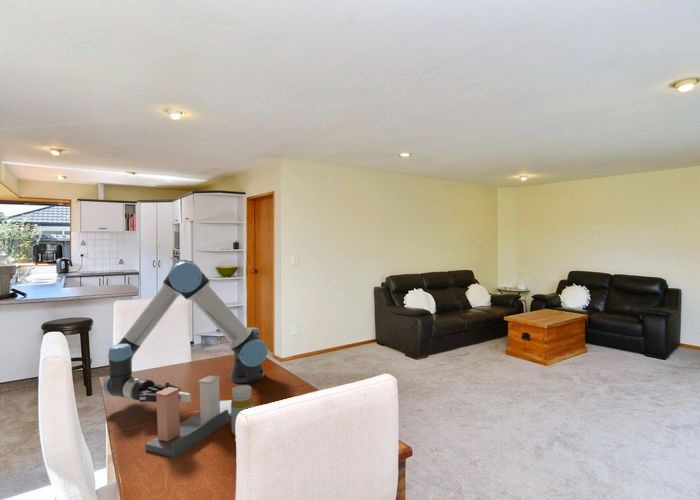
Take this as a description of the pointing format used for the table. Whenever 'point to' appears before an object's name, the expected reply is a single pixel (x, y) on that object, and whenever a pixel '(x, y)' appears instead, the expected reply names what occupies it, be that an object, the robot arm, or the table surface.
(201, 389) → the grey tall block
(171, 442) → the stand
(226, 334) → the robot arm
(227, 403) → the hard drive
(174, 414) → the terracotta key
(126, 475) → the table surface
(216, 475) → the table surface
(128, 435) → the table surface
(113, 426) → the table surface
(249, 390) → the bottle
